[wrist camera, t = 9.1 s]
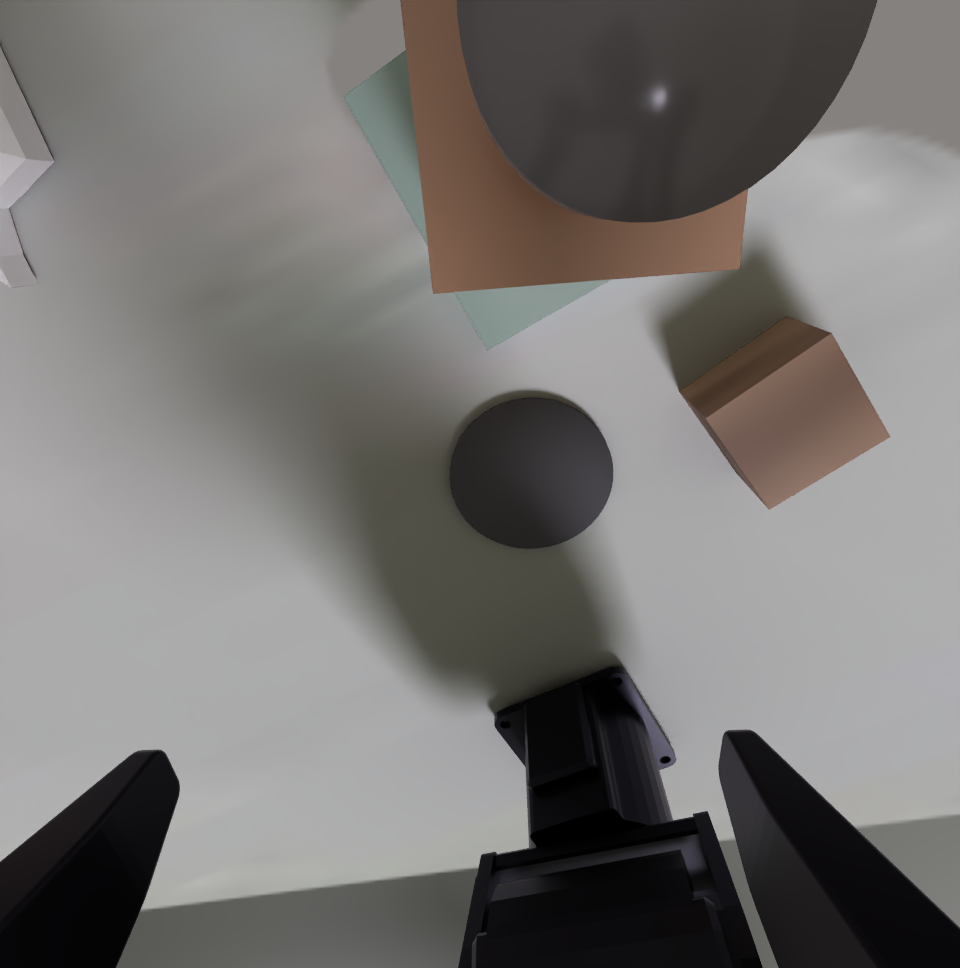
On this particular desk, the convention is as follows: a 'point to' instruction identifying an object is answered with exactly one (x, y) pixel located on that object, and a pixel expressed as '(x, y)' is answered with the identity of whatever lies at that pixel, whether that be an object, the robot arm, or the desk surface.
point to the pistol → (16, 172)
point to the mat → (393, 140)
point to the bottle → (609, 128)
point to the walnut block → (786, 410)
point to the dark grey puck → (531, 473)
